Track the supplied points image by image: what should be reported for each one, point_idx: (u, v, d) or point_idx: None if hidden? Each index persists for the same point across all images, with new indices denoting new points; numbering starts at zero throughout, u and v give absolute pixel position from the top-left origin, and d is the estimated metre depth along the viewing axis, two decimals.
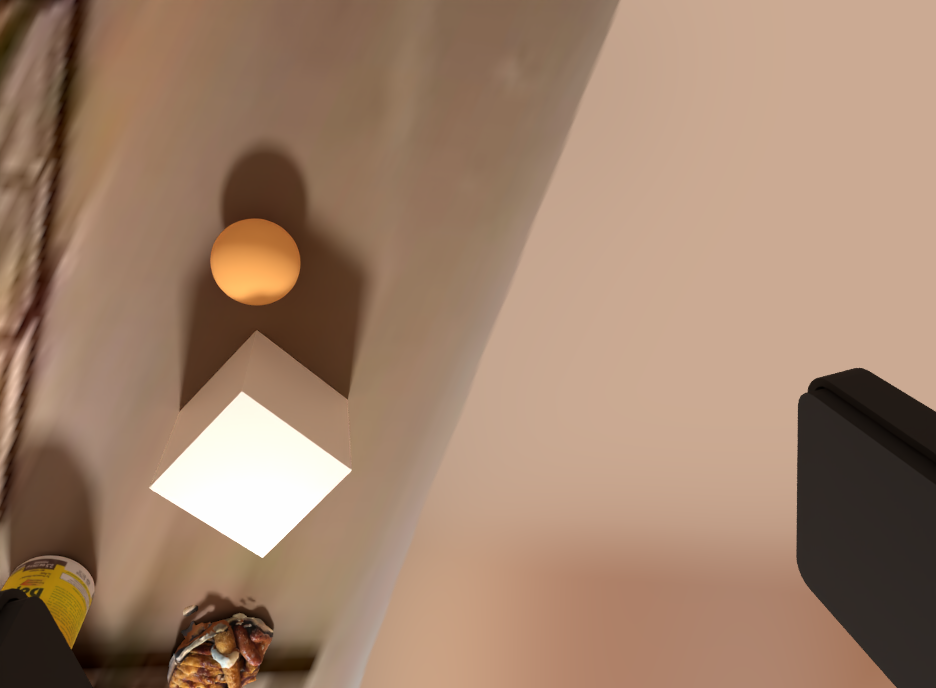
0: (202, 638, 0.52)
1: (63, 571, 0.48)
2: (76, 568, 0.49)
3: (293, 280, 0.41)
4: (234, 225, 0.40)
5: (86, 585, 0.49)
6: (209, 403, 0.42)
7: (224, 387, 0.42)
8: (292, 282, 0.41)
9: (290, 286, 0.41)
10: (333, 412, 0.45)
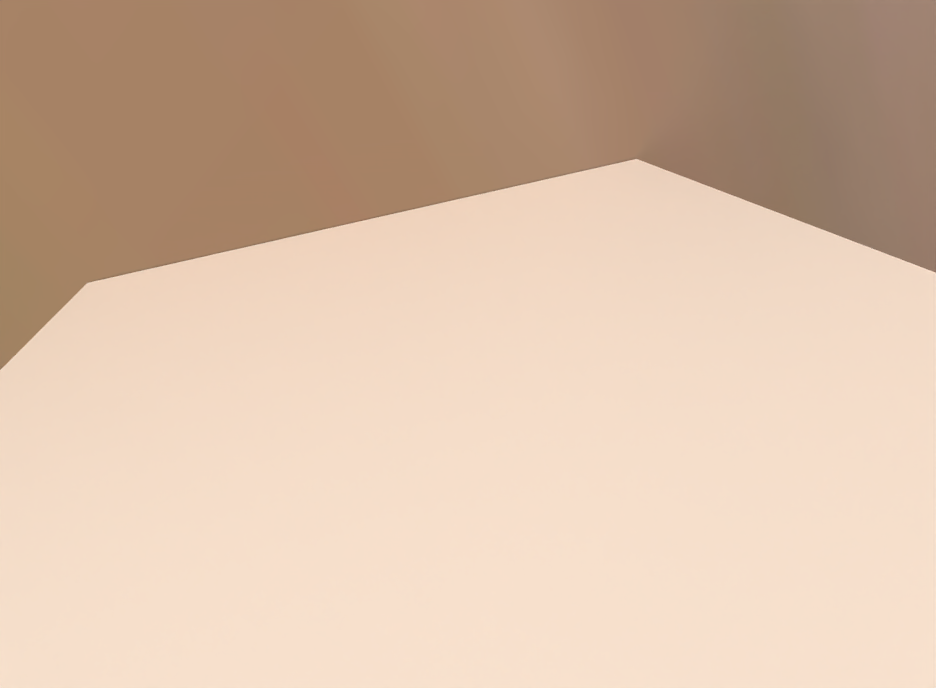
0: None
1: None
2: None
3: None
4: None
5: None
6: None
7: None
8: None
9: None
10: None
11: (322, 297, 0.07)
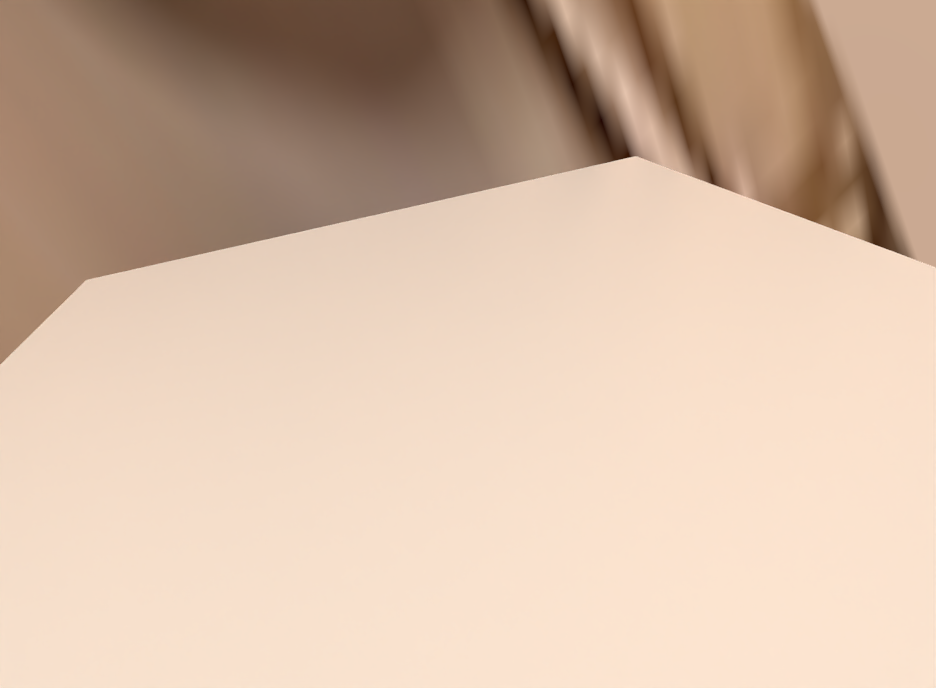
0: None
1: None
2: None
3: None
4: None
5: None
6: None
7: None
8: None
9: None
10: None
11: (321, 293, 0.07)
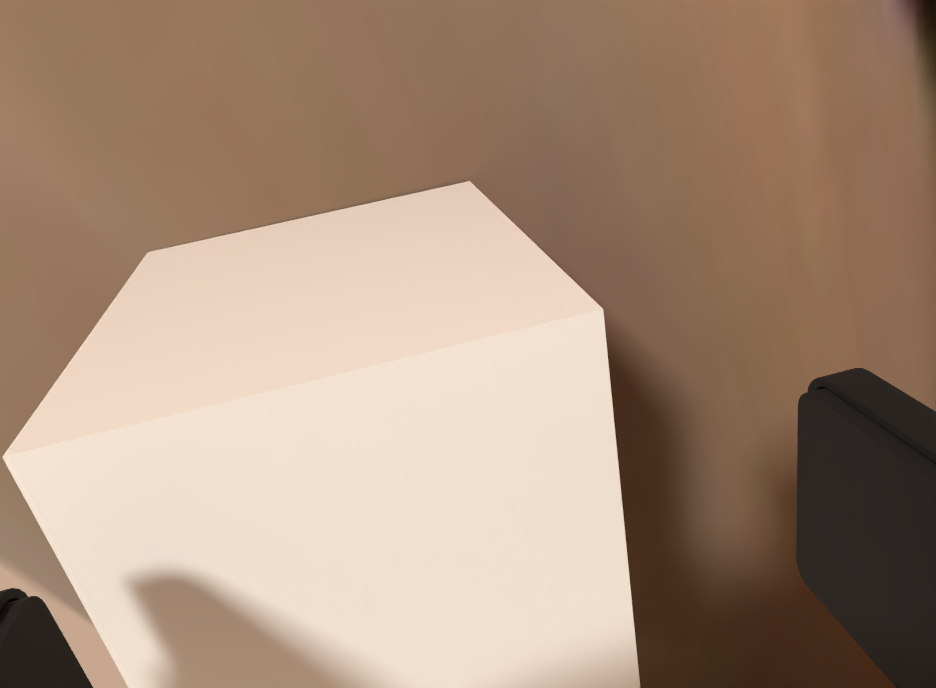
0: None
1: None
2: None
3: None
4: None
5: None
6: None
7: None
8: None
9: None
10: None
11: (280, 257, 0.14)
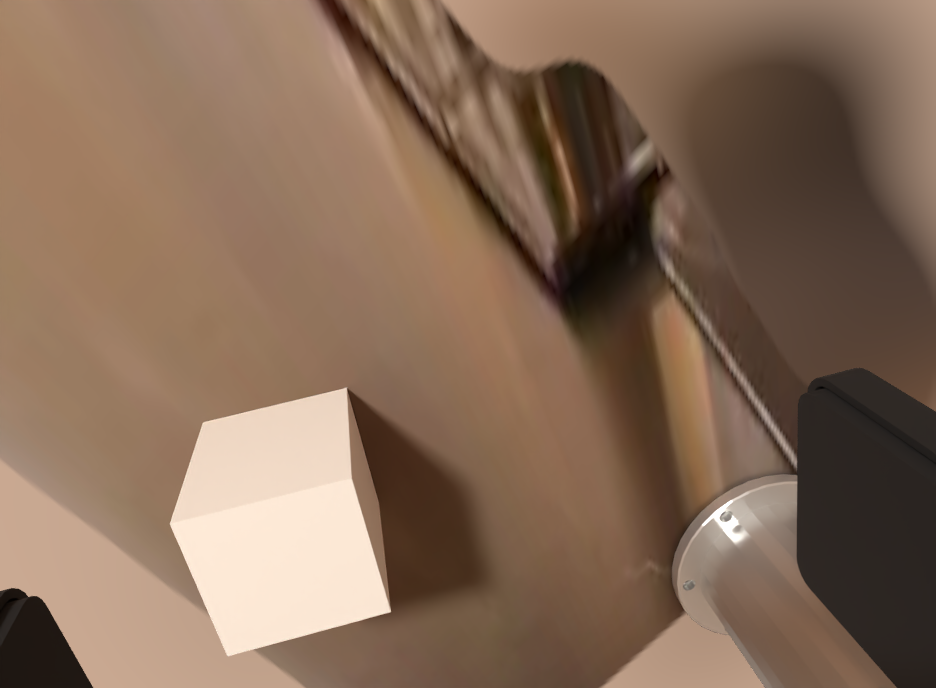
0: None
1: None
2: None
3: None
4: None
5: None
6: (369, 506, 0.36)
7: (375, 525, 0.36)
8: None
9: None
10: None
11: (258, 434, 0.36)
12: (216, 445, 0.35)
